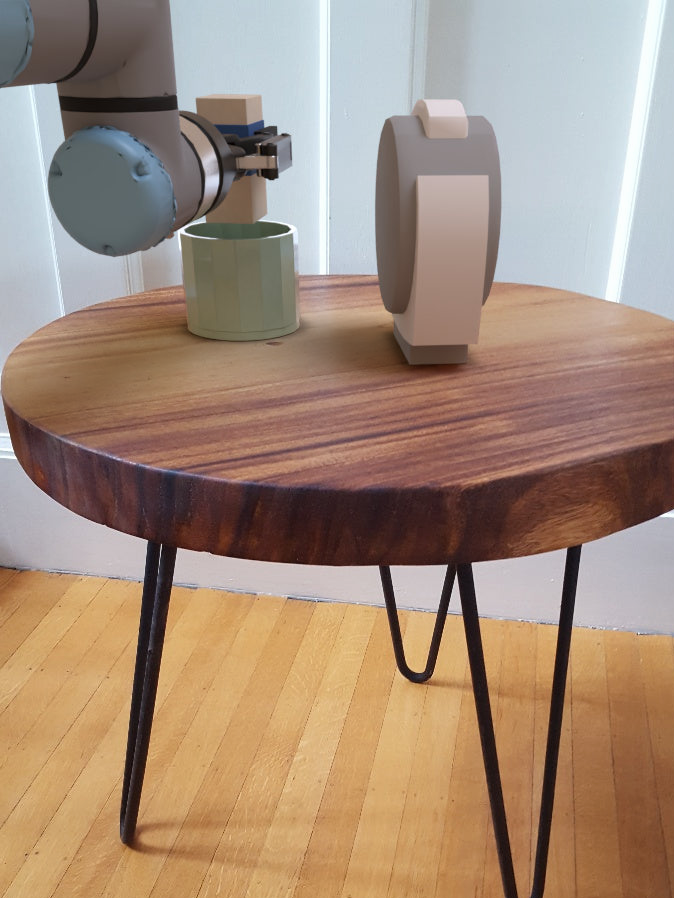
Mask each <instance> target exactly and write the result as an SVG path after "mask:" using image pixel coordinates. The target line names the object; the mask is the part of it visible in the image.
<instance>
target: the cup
mask: <svg viewBox="0 0 674 898" xmlns="http://www.w3.org/2000/svg"><path fill="white" fill-rule="evenodd" d="M177 236H178V237H177V238H178V247H179V258H180V259H179V260H180V269H181V279H182V291H183V301H184V312H185V318H186V323H187V330H188V331H189V332H190V333H192V334H193V335H195V336H198V337H202V338H206V339H211V340H219V341H231V342H234V341H235V342H246V341H247V342H250V341H261V340H267V339H268V340H269V339H276V338H280V337H284V336H287V335H290V334H292V333H294V332H296V331H297V330H298V329H299V328H300V326H301V325H300V318H301V294H300V291H301V290H300V264H299V261H300V260H299V233H298V228H297V227H296V226H295V225H293V224H289V223H287V222H286V223H285V222H282V221H273V220H266V219H265V220H264V219H259V220H258V221H257V222H255V223H254V224H231V223H206V221H199V222H194V223H193V222H192V223H189V224H188V225H186V226H184V227H182V228H181V229H179V230H177Z"/></svg>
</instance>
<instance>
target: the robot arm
mask: <svg viewBox="0 0 674 898" xmlns="http://www.w3.org/2000/svg"><path fill="white" fill-rule="evenodd" d="M170 3H171V2H170V0H0V89H5V88H15V87H16V88H17V87H24V86H25V87H26V86H35V85H43V84H45V85H50V84H56V90H57V98H58V104H59V111H60V118H61V119H60V120H61V125H62V130H63V136H64V137H63V138H64V141H63V142H62V143H61V144H60V145H59V146H58V147H57V149H56V151H55V152H54V153H53V157H52V159H51V162H50V166H49V169H48V176H47V191H48V192H47V193H48V197H49V201H50V205H51V208H52V210H53V212H54V215H55V216H56V219H57V220H58V222H59V223H60V225H61V227H62V228H63V230H64V231H65V232H66V233H67V234H68V235H69V236H70V237H71V238H72V239H73V240H74V241H75V242H76V243H78V244H79V245H80V246H82V247H83V248H85V249H86V250H88V251H91V252H92V253H95V254H98V255H101V256H102V255H103V256H107V257H112V258H118V257H124V256H130V255H133V254H136V253H138V252H145V251H148V250H150V249H151V248H156V247H158V246H159V244H161V243H162V242H164V241H165V240H171V239H173V237H175V232H178V230H179V229H181V228H182V227H184V226H186V225H189V224H192V223H193V222H195V221H197V220H199V219H202V218H204V217H205V215H207V214H208V213H210V212H212V211H213V210H215V209H216V208H217V207H218V206H219V205H220V204H221V203H222V202H223V200H224V199H225V197H226V196H227V194H228V192H229V189H230V187H231V184H232V182H233V181H237V180H240V178H242V177H244V176H245V174H246V172H247V171H251V170H255V169H256V172H257V177H264V178H265V179H266V180H268V181H275V180H277V179H280V175H279V174H281V173H283V172H284V171H286V170H288V169H290V168H291V167H293V147H292V135H291V134H290V133H288V132H282V133H281V134H278V125H268V126H264V128H263V129H260V130H257V131H254V135H253V136H247V137H242V138H239V137H238V135H236V134H221V133H220V132H219V130H218V129H217V128H216V127H215V126H214V125H213V124H212V123H211V122H210V121H208V120H207V119H206V118H204V117H202V116H200V115H198V114H197V112H196V113H195V112H192V111H190V110H180V107H179V103H178V95H177V94H178V89H177V88H178V87H177V76H176V65H175V64H176V63H175V55H174V54H175V53H174V41H173V27H172V17H171V4H170Z"/></svg>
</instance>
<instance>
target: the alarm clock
mask: <svg viewBox="0 0 674 898" xmlns="http://www.w3.org/2000/svg"><path fill="white" fill-rule="evenodd" d="M378 141H379V142H378V149H377V157H376V168H375V169H376V171H375V193H374V194H375V195H374V235H375V258H376V270H377V278H378V279H377V281H378V287H379V292H380V293H379V294H380V297H381V301H382V304H383V306H384V309H385V310H386V311H387V312H388V313H390V314H391V316H392V319H393V326H392V327H393V329H392V330H393V332H392V333H393V335H394V338H395V340H396V341H397V344H398V346H399V347H400V349H401V351H402V354H403V355H404V357H405V359H406V360H407V363H408V364H409V365H411V366H412V365H446V364H449V365H450V364H467V363H468V350H469V345H479V344H478V343H479V336H480V327H481V317H482V309H483V307H484V306H485V304H486V303H487V301H488V298H489V296H490V293H491V290H492V286H493V283H494V280H495V273H496V267H497V264H498V259H499V257H498V256H499V249H500V248H499V247H500V239H501V222H502V174H501V173H502V171H501V161H500V152H499V147H498V140H497V135H496V133H495V131H494V127H493V125H492V123H490V121H489V120H488V119H487V118H486V117H485V116H484V115H467V113H466V110H465V107H464V105H463V103H462V102H461V101H460V100H458V99H438V98H437V99H427V98H425V99H417V101H416V103H415V104H414V106H413V109H412V111H411V113H410V115H398V114H397V115H395V114H394V115H392V116H389V117H388V118H386V119H385V120H384V123H383V126H382V128H381V131H380V137H379V140H378Z"/></svg>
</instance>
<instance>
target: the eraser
mask: <svg viewBox="0 0 674 898" xmlns="http://www.w3.org/2000/svg"><path fill="white" fill-rule="evenodd" d="M262 98H263V97H262V94H244V93H243V94H237V93H236V94H234V93H233V94H232V93H225V94H224V93H223V94H222V93H212V94H208V95H202V96H197V97H195V107H196V114H198V115H200V116H202V117H204V118H206V119H207V120H208V121H210V122H211V123H212V124H213V125H214V126H215V127H216V128H217V129H218V130H219V132H220V133H221V134H236V135H238V137H239V138H242V137H247V136H253V135H254V131H257V130H260V129H263V128H265V119H263V118H264V117H263V99H262ZM267 215H268V198H267V179H265V178H264V177H257V172H256V169H255V170H251V171H247V172H246V174H245V176H244V177H242V178H240V180H237V181H233V182H232V184H231V187H230V189H229V192H228V194H227V196H226V197H225V199H224V200H223V202H222V203H221V204H220V205H219V206H218V207H217V208H216V209H215V210H213V211H212V212H210V213H208V214H207V215H205V216H204V217H205V222H206V223H231V224H254V223H255V222H257V221H258V220H262V218H265V216H267Z"/></svg>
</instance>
